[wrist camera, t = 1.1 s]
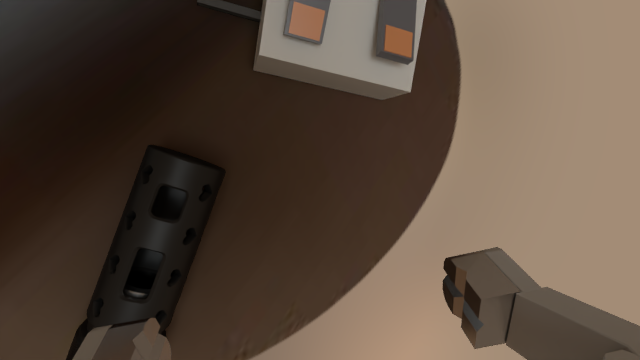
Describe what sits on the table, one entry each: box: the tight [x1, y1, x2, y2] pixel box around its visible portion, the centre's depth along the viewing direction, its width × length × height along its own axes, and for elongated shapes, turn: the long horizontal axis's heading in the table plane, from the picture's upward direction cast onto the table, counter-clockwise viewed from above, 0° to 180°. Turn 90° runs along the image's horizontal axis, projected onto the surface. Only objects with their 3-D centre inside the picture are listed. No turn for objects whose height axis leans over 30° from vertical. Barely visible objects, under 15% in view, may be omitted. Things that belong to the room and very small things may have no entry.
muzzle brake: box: [66, 145, 226, 360], centre depth 39 cm, size 10×28×10 cm, turn 159°
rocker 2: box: [376, 0, 417, 65], centre depth 39 cm, size 4×9×2 cm, turn 170°
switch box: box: [197, 0, 426, 100], centre depth 42 cm, size 28×14×8 cm, turn 80°
